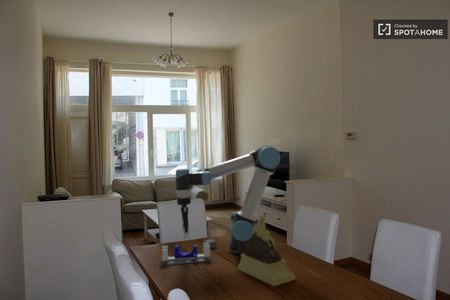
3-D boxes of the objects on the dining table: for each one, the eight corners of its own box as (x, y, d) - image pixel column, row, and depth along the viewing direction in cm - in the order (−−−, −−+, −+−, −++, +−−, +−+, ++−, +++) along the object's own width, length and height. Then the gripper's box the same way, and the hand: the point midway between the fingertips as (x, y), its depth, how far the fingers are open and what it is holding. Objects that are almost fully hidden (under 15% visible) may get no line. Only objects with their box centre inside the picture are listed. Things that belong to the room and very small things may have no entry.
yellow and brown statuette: (295, 279, 181) (293, 216, 179) (274, 286, 174) (271, 220, 172) (257, 264, 204) (255, 207, 203) (238, 269, 197) (235, 211, 196)
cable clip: (174, 258, 213) (174, 247, 212) (176, 255, 217) (176, 245, 217) (195, 258, 211) (195, 247, 211) (197, 255, 216) (197, 244, 215)
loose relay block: (211, 245, 242) (211, 239, 242) (216, 247, 237) (216, 241, 237) (204, 246, 240) (204, 240, 240) (209, 249, 235) (208, 242, 235)
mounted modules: (208, 252, 220) (208, 241, 220) (210, 256, 213) (209, 244, 213) (162, 256, 216) (161, 245, 216) (162, 260, 209) (161, 248, 209)
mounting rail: (208, 255, 222) (208, 251, 222) (210, 261, 210) (210, 258, 210) (162, 258, 218) (162, 255, 218) (162, 265, 206) (162, 262, 206)
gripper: (176, 194, 225) (178, 230, 226) (177, 201, 200) (180, 241, 201) (189, 193, 226) (191, 229, 227) (192, 199, 201) (194, 240, 202)
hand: (185, 235), depth 214 cm, fingers open, 13 cm apart
